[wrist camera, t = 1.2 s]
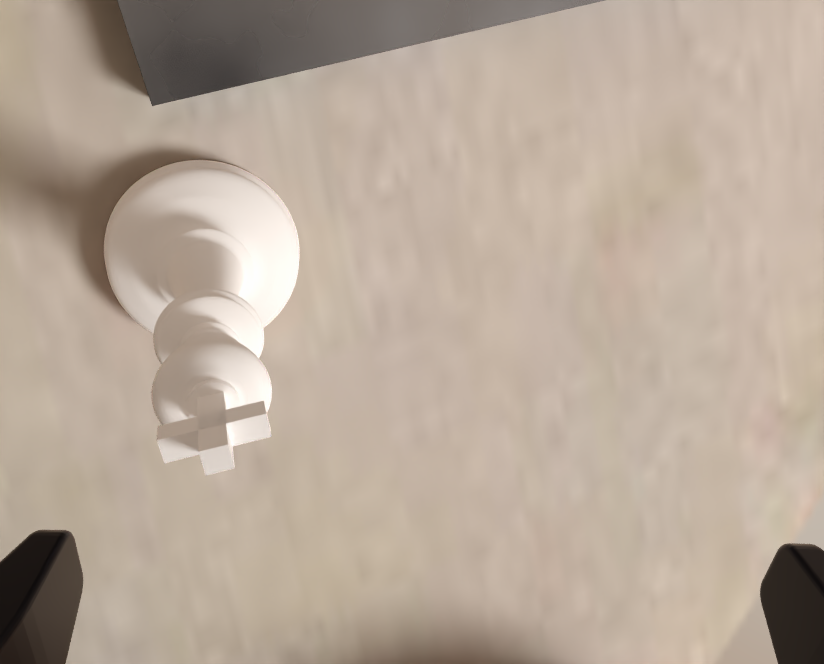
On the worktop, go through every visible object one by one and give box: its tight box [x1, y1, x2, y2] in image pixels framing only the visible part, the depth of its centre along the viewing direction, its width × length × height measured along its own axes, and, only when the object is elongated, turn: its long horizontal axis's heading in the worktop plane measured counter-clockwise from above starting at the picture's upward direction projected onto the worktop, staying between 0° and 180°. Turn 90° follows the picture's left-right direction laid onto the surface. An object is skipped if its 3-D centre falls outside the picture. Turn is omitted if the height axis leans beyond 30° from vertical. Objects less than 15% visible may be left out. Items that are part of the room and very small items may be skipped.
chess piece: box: [104, 160, 299, 475], centre depth 16 cm, size 5×5×10 cm
